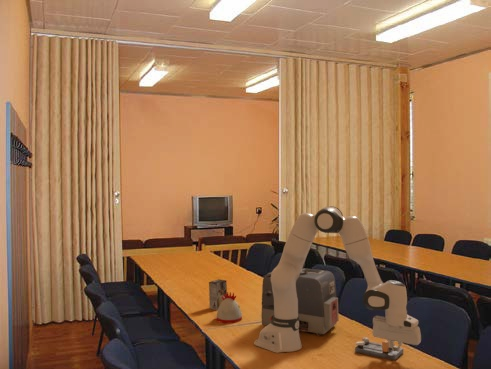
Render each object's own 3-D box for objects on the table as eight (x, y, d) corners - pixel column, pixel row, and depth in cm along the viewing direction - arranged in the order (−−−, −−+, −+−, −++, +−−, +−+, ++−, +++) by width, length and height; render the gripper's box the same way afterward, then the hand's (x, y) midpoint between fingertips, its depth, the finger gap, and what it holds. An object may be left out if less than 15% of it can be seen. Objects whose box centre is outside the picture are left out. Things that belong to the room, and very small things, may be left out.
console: (354, 351, 223) (354, 346, 223) (363, 344, 232) (363, 339, 232) (394, 360, 212) (394, 354, 212) (403, 352, 221) (403, 346, 221)
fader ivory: (387, 347, 222) (387, 338, 222) (389, 345, 224) (389, 336, 224) (391, 348, 221) (391, 339, 221) (393, 346, 223) (393, 337, 222)
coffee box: (219, 305, 303) (218, 278, 302) (227, 306, 299) (226, 280, 298) (209, 308, 295) (208, 281, 295) (217, 310, 291) (216, 283, 291)
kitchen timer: (238, 323, 266) (238, 295, 266) (213, 322, 269) (213, 294, 269) (244, 316, 280) (243, 289, 279) (220, 315, 283) (219, 288, 282)
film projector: (348, 326, 259) (347, 268, 258) (323, 343, 235) (323, 279, 234) (282, 314, 282) (281, 261, 281) (253, 328, 257) (253, 270, 256)
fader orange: (382, 351, 217) (382, 342, 217) (384, 349, 219) (384, 340, 219) (386, 352, 216) (386, 343, 216) (388, 350, 218) (388, 341, 218)
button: (361, 342, 229) (361, 338, 229) (364, 340, 231) (363, 337, 231) (367, 343, 227) (367, 339, 227) (369, 342, 229) (369, 338, 229)
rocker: (355, 345, 224) (355, 343, 224) (357, 343, 226) (357, 341, 226) (363, 345, 222) (362, 342, 222) (365, 343, 224) (364, 341, 224)
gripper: (370, 316, 218) (370, 348, 218) (417, 324, 206) (417, 358, 206) (375, 313, 223) (375, 343, 223) (422, 321, 211) (422, 353, 211)
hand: (396, 350), depth 214 cm, fingers closed
